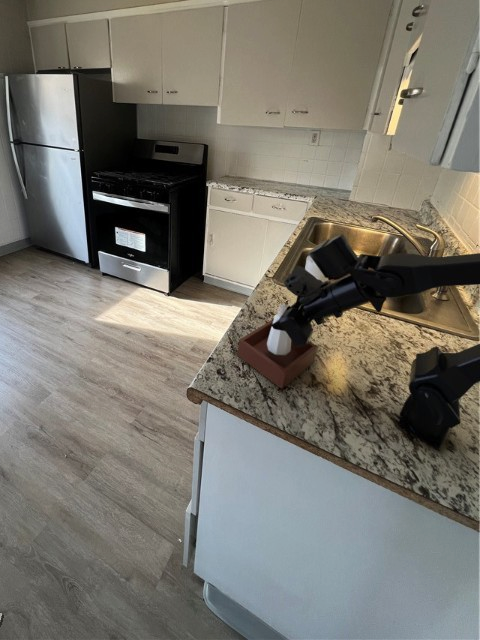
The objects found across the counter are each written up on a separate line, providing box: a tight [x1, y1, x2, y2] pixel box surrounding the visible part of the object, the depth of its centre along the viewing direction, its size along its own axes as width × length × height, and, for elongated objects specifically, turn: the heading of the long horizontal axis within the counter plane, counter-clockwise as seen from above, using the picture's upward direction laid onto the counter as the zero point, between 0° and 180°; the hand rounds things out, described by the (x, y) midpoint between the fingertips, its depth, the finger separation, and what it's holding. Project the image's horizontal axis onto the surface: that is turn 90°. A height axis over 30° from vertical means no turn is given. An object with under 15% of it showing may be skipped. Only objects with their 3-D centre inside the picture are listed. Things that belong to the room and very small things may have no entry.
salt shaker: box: [267, 304, 291, 356], centre depth 69 cm, size 5×5×11 cm
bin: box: [236, 318, 319, 390], centre depth 72 cm, size 13×13×5 cm
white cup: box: [304, 255, 329, 282], centre depth 101 cm, size 8×8×10 cm
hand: (276, 322), depth 69 cm, fingers closed on salt shaker, 4 cm apart
